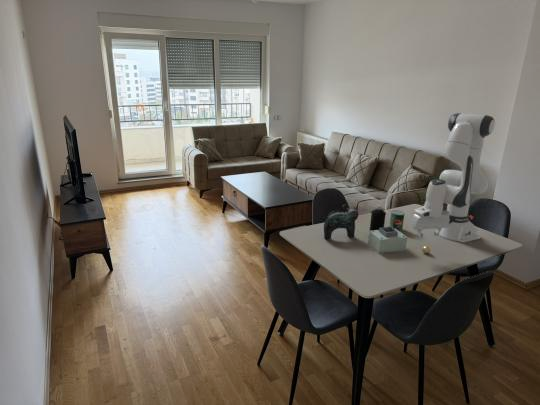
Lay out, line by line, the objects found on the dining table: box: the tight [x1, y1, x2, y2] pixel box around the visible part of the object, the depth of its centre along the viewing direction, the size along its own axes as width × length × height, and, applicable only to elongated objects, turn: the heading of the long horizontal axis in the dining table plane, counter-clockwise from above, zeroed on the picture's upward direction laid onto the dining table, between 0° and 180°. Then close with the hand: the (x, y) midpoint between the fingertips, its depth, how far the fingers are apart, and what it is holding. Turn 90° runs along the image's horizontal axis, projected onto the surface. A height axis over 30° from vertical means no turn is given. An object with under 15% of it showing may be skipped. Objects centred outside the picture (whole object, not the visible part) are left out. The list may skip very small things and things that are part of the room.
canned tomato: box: [388, 209, 405, 232], centre depth 229 cm, size 8×8×11 cm
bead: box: [421, 245, 431, 255], centre depth 199 cm, size 4×4×4 cm
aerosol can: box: [367, 204, 387, 238], centre depth 214 cm, size 8×8×20 cm
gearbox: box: [367, 226, 408, 254], centre depth 205 cm, size 16×12×10 cm
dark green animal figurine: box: [323, 204, 359, 241], centre depth 214 cm, size 20×6×20 cm, turn 104°
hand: (428, 235), depth 196 cm, fingers open, 8 cm apart
